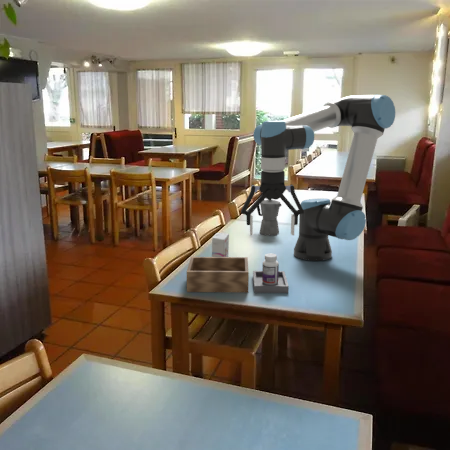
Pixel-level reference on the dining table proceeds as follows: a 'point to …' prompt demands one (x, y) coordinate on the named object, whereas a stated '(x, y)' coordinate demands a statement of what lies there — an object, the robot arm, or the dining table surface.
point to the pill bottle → (270, 269)
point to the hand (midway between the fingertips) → (271, 234)
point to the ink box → (220, 245)
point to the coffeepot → (269, 217)
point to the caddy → (218, 274)
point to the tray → (264, 288)
